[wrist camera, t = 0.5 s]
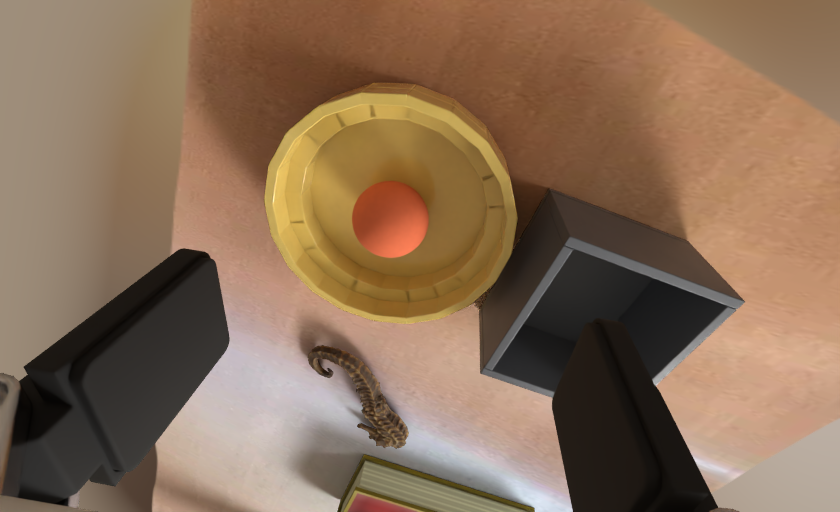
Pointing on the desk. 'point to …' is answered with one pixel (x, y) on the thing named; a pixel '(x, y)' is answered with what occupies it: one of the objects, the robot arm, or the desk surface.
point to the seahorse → (365, 396)
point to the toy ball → (390, 219)
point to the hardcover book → (414, 492)
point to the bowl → (403, 162)
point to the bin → (596, 294)
